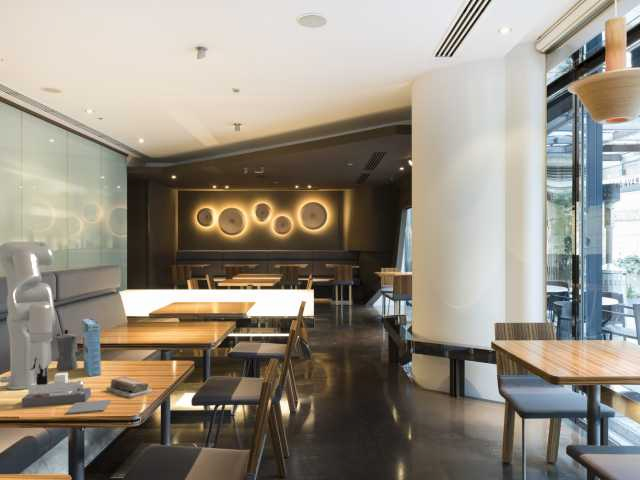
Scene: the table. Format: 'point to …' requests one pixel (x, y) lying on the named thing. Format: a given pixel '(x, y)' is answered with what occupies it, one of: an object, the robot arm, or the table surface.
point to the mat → (88, 407)
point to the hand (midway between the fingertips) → (42, 386)
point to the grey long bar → (55, 387)
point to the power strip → (56, 398)
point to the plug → (60, 379)
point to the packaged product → (129, 387)
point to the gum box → (91, 347)
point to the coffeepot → (66, 351)
